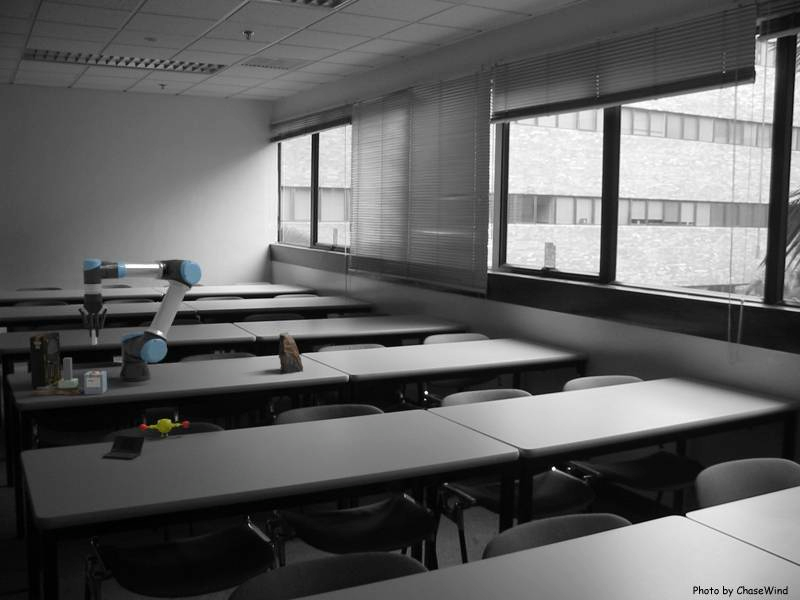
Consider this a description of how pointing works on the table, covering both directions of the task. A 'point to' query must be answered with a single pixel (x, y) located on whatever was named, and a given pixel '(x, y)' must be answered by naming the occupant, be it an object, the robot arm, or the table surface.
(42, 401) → the table surface
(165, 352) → the robot arm
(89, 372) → the gauge cabinet
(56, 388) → the rail bed
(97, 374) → the reset pin
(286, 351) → the brown rock
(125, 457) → the black laptop
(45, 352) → the black upright box
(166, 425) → the toy figure
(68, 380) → the grey post stand
